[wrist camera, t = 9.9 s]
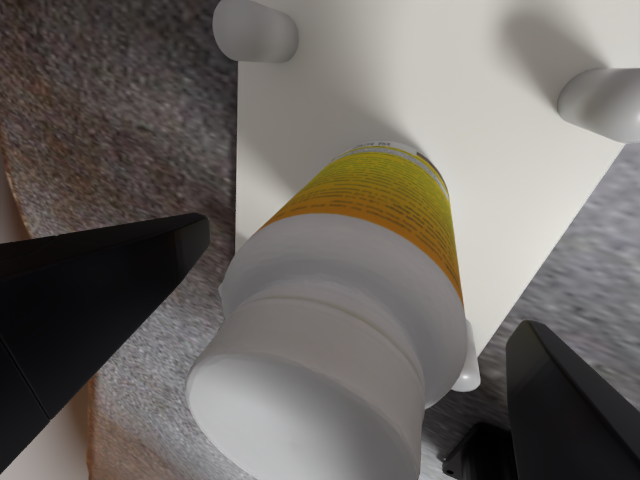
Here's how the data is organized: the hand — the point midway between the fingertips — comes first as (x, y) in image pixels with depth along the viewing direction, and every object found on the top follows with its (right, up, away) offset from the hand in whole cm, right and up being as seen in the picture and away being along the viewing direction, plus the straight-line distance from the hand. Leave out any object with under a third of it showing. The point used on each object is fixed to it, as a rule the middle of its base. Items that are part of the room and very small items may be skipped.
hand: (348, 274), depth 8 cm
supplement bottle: (+2, +3, +5) cm, 6 cm away
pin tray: (+2, +3, +6) cm, 7 cm away
